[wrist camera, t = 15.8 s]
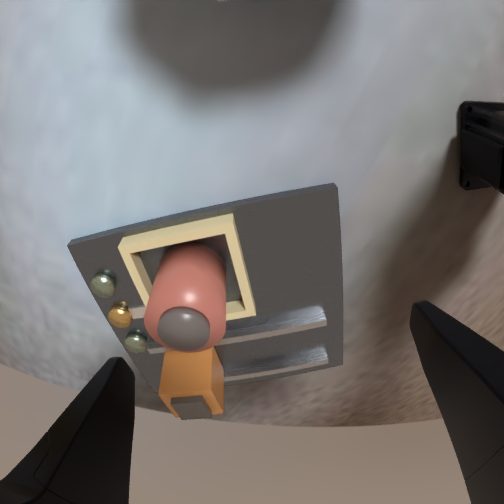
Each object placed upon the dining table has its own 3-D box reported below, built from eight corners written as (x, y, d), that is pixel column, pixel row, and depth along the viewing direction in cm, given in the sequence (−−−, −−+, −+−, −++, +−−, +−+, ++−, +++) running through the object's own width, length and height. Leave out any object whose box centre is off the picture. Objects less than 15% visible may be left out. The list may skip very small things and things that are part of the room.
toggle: (212, 343, 25) (210, 396, 20) (223, 369, 27) (223, 419, 22) (165, 349, 25) (157, 401, 21) (179, 374, 27) (174, 423, 23)
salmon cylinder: (233, 292, 22) (234, 354, 18) (171, 303, 23) (160, 363, 18) (217, 236, 20) (213, 294, 15) (149, 250, 20) (128, 308, 15)
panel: (333, 182, 19) (341, 192, 18) (340, 358, 28) (344, 371, 27) (71, 239, 20) (62, 252, 19) (156, 386, 29) (154, 399, 28)
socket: (232, 213, 19) (232, 222, 18) (255, 303, 23) (256, 315, 22) (122, 237, 20) (117, 247, 19) (160, 319, 23) (157, 330, 22)
